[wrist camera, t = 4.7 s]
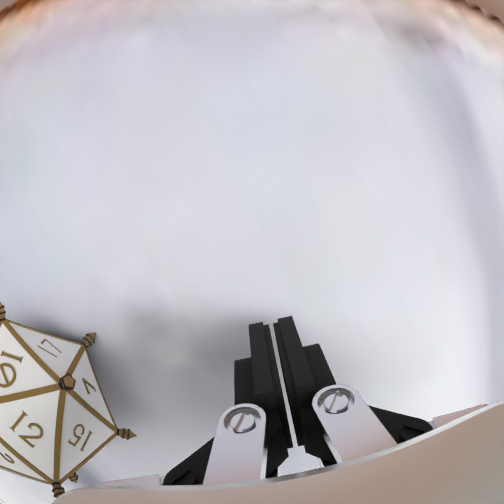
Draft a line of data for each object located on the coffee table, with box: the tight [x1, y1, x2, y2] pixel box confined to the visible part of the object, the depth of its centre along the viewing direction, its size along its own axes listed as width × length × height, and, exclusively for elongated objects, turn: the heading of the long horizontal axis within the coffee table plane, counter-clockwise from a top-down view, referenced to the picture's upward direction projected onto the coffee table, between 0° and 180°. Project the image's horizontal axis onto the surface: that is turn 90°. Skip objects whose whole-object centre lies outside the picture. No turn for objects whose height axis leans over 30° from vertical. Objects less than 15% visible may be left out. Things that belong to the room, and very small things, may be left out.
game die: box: [0, 302, 137, 498], centre depth 10 cm, size 9×8×10 cm
